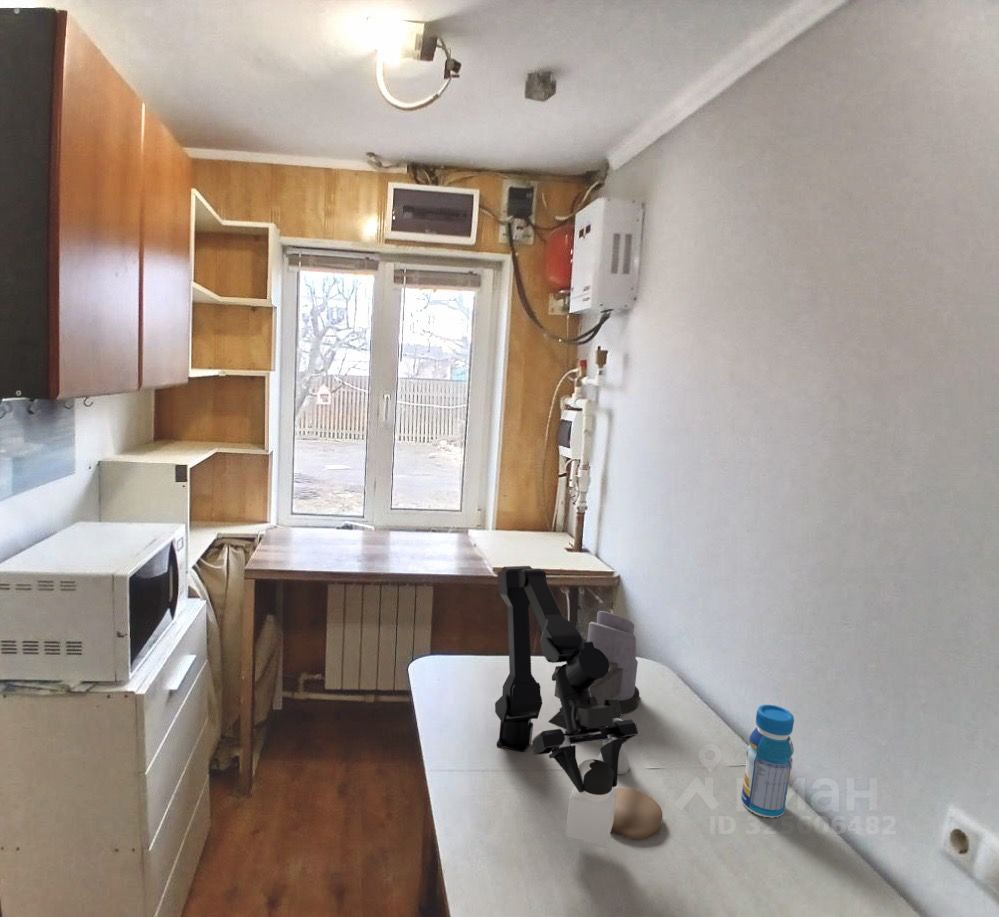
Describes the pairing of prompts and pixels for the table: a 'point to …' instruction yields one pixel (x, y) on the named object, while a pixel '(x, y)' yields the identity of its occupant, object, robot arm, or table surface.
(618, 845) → the table surface
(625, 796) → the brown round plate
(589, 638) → the juicer
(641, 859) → the table surface
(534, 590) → the robot arm
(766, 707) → the beverage bottle
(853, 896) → the table surface
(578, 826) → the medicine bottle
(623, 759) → the flask
